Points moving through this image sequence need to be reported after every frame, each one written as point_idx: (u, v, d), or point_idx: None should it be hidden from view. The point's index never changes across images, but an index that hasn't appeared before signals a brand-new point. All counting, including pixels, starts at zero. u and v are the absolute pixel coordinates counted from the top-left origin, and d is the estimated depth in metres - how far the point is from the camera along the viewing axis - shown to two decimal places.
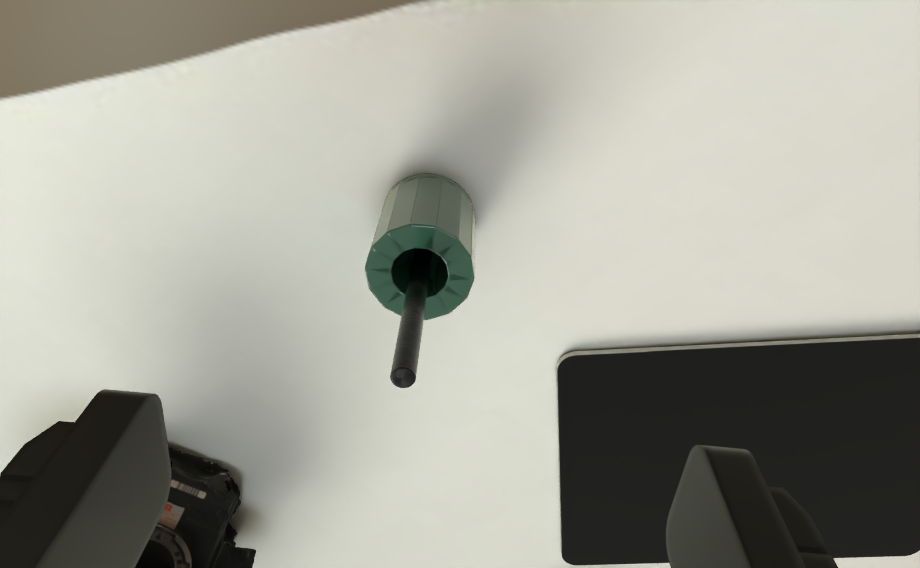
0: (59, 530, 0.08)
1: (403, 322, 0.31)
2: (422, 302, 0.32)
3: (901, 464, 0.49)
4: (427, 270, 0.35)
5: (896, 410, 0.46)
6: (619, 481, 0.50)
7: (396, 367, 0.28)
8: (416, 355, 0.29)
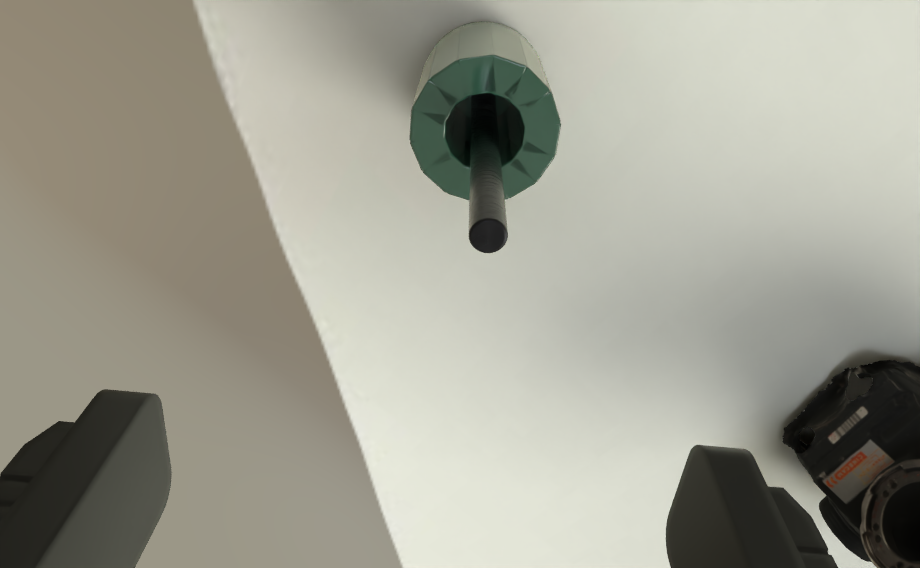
0: (59, 530, 0.08)
1: None
2: (476, 152, 0.23)
3: None
4: (477, 122, 0.25)
5: None
6: None
7: (471, 243, 0.18)
8: (479, 200, 0.19)
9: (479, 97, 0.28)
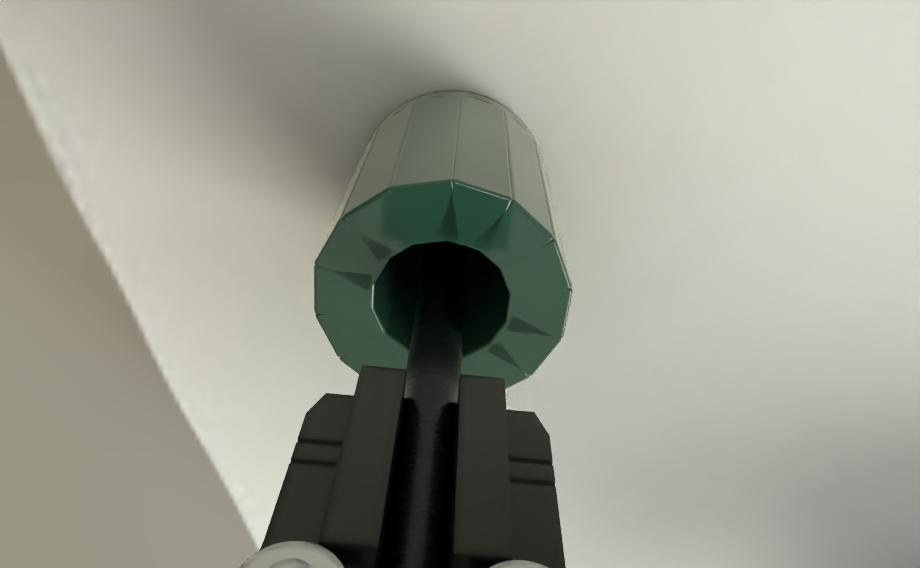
0: (384, 483, 0.09)
1: None
2: (412, 381, 0.12)
3: None
4: (426, 288, 0.15)
5: None
6: None
7: None
8: None
9: None
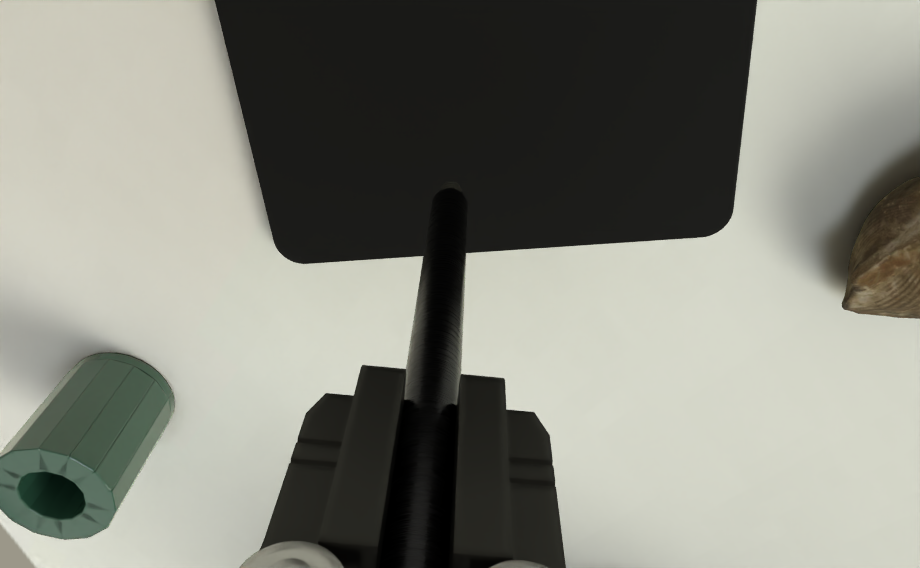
0: (384, 483, 0.09)
1: None
2: (412, 383, 0.12)
3: None
4: (426, 290, 0.15)
5: None
6: (523, 158, 0.29)
7: None
8: None
9: (439, 223, 0.17)
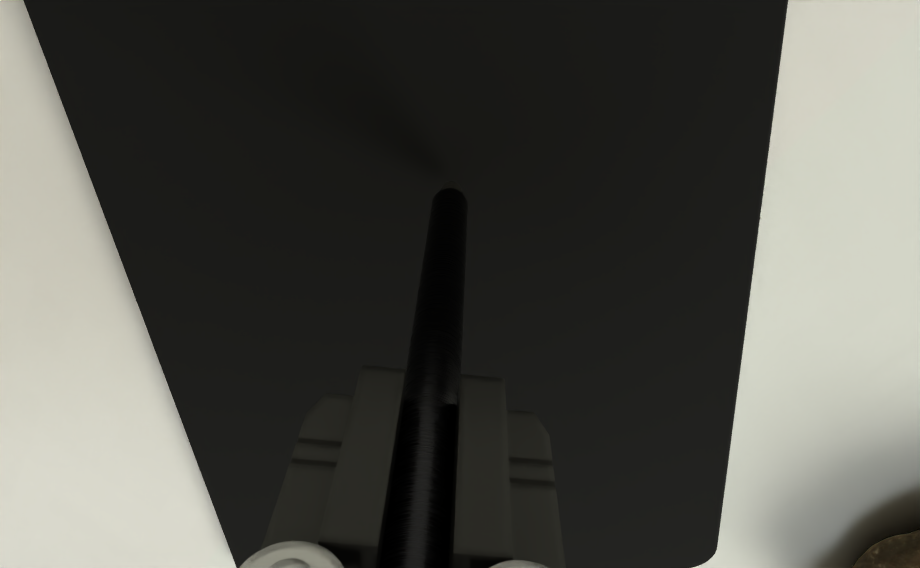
0: (384, 483, 0.09)
1: None
2: (412, 383, 0.12)
3: None
4: (426, 290, 0.15)
5: (249, 44, 0.19)
6: None
7: None
8: None
9: (438, 223, 0.17)
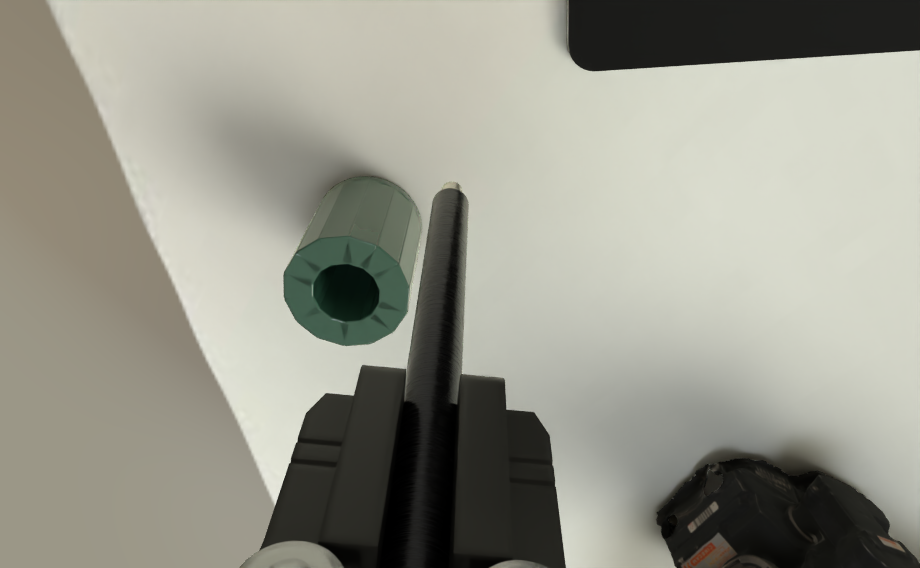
0: (384, 483, 0.09)
1: None
2: (413, 383, 0.12)
3: None
4: (426, 290, 0.15)
5: None
6: None
7: None
8: None
9: (439, 223, 0.17)
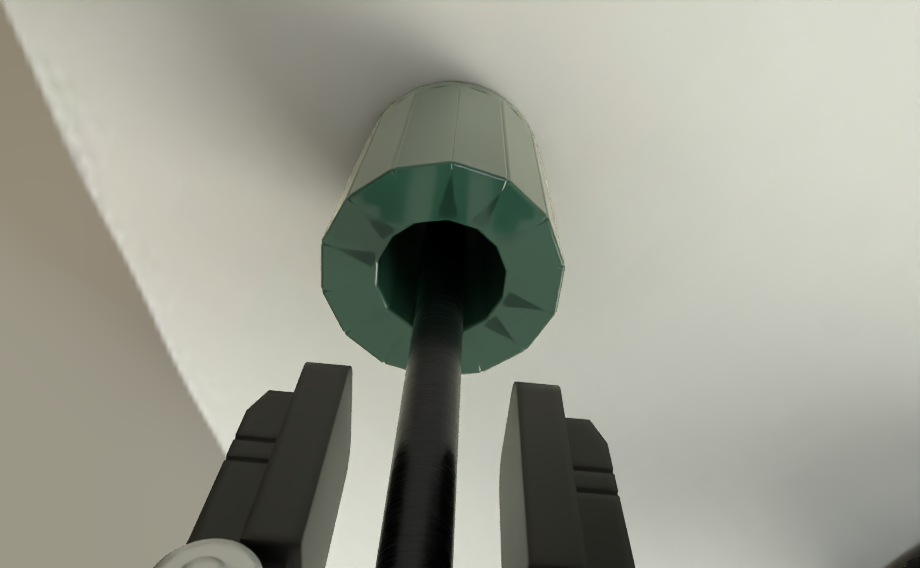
0: (315, 480, 0.09)
1: None
2: (417, 350, 0.13)
3: None
4: (429, 267, 0.15)
5: None
6: None
7: None
8: (398, 526, 0.09)
9: None
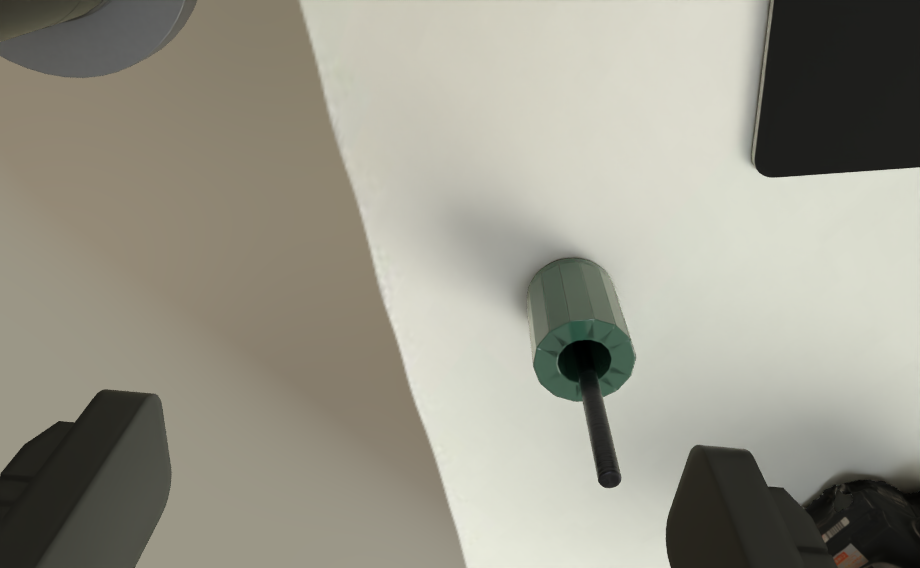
0: (59, 530, 0.08)
1: (589, 431, 0.34)
2: (587, 395, 0.35)
3: None
4: (580, 358, 0.38)
5: None
6: None
7: (599, 482, 0.31)
8: (601, 451, 0.31)
9: None
